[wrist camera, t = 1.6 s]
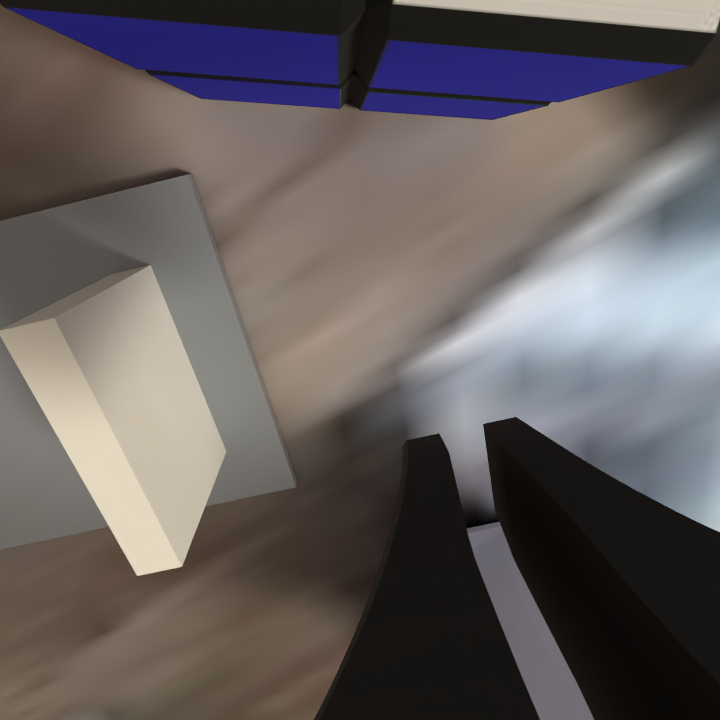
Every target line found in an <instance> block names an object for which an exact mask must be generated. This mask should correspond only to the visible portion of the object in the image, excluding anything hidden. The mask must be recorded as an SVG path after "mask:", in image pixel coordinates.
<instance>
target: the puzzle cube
mask: <svg viewBox="0 0 720 720" xmlns="http://www.w3.org/2000/svg"><path fill="white" fill-rule="evenodd" d="M0 4H1V5H2V6H3V7H5V8H7V9H9V10H11V11H13V12H16V13H18V14H20V15H22V16H24V17H26V18H28V19H31V20H33V21H35V22H37V23H39V24H41V25H44V26H46V27H48V28H50V29H52V30H54V31H56V32H59V33H61V34H63V35H65V36H67V37H69V38H72V39H74V40H76V41H78V42H80V43H82V44H84V45H87V46H89V47H91V48H93V49H95V50H97V51H100V52H102V53H104V54H106V55H108V56H110V57H112V58H115V59H117V60H119V61H121V62H123V63H125V64H128V65H130V66H132V67H134V68H136V69H143V70H146V71H147V72H148V74H149V75H151V76H154V77H156V78H158V79H160V80H162V81H164V82H166V83H169V84H171V85H173V86H175V87H177V88H179V89H182V90H184V91H186V92H188V93H190V94H192V95H194V96H197V97H199V98H201V99H213V100H227V101H240V102H254V103H268V104H281V105H295V106H309V107H322V108H336V109H340V108H341V107H342V106H343V105H344V104H345V103H346V102H347V101H348V100H349V99H350V98H351V100H352V101H353V102H354V104H355V105H356V106H357V107H358V109H359V110H364V111H378V112H391V113H405V114H419V115H433V116H446V117H460V118H474V119H487V120H494V119H498V118H502V117H506V116H509V115H513V114H517V113H521V112H525V111H529V110H533V109H537V108H541V107H544V106H548V105H549V104H550V103H551V102H561V101H565V100H569V99H572V98H576V97H580V96H583V95H587V94H591V93H594V92H598V91H602V90H605V89H609V88H613V87H616V86H620V85H624V84H627V83H631V82H635V81H638V80H642V79H646V78H649V77H653V76H657V75H660V74H664V73H667V72H671V71H675V70H678V69H682V68H686V67H689V66H692V65H694V64H695V63H696V62H697V61H698V60H700V59H701V58H702V57H703V56H704V55H705V54H707V53H708V52H709V51H710V50H711V49H713V48H714V47H715V46H716V45H717V44H719V43H720V0H0Z"/></svg>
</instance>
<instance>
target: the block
mask: <svg viewBox="0 0 720 720" xmlns="http://www.w3.org/2000/svg"><path fill="white" fill-rule="evenodd" d="M0 337H1V338H2V340H3V342H4V344H5V345H6V347H7V349H8V351H9V352H10V354H11V356H12V358H13V359H14V361H15V363H16V365H17V366H18V368H19V370H20V372H21V373H22V375H23V377H24V379H25V380H26V382H27V384H28V386H29V387H30V389H31V391H32V393H33V394H34V396H35V398H36V400H37V401H38V403H39V405H40V407H41V408H42V410H43V412H44V414H45V415H46V417H47V419H48V421H49V422H50V424H51V426H52V428H53V429H54V431H55V433H56V435H57V436H58V438H59V440H60V442H61V443H62V445H63V447H64V449H65V450H66V452H67V454H68V456H69V457H70V459H71V461H72V463H73V464H74V466H75V468H76V470H77V471H78V473H79V475H80V477H81V478H82V480H83V482H84V484H85V485H86V487H87V489H88V491H89V492H90V494H91V496H92V498H93V499H94V501H95V503H96V505H97V506H98V508H99V510H100V512H101V513H102V515H103V517H104V519H105V520H106V522H107V524H108V526H109V527H110V529H111V531H112V533H113V534H114V536H115V538H116V540H117V541H118V543H119V545H120V547H121V548H122V550H123V552H124V554H125V555H126V557H127V559H128V561H129V562H130V564H131V566H132V568H133V569H134V571H135V573H136V575H137V576H140V575H144V574H149V573H154V572H159V571H164V570H169V569H174V568H178V567H182V565H183V563H184V560H185V558H186V555H187V552H188V550H189V547H190V545H191V542H192V539H193V537H194V534H195V532H196V529H197V526H198V524H199V521H200V519H201V516H202V514H203V511H204V508H205V506H206V503H207V501H208V498H209V495H210V493H211V490H212V488H213V485H214V482H215V480H216V477H217V475H218V472H219V469H220V467H221V464H222V462H223V459H224V457H225V454H226V449H225V447H224V444H223V442H222V440H221V437H220V435H219V432H218V430H217V427H216V425H215V422H214V420H213V417H212V415H211V412H210V410H209V408H208V405H207V403H206V400H205V398H204V395H203V393H202V390H201V388H200V385H199V383H198V380H197V378H196V375H195V373H194V371H193V368H192V366H191V363H190V361H189V358H188V356H187V353H186V351H185V348H184V346H183V343H182V341H181V339H180V336H179V334H178V331H177V329H176V326H175V324H174V321H173V319H172V316H171V314H170V311H169V309H168V307H167V304H166V302H165V299H164V297H163V294H162V292H161V289H160V287H159V284H158V282H157V279H156V277H155V275H154V272H153V270H152V267H151V265H148V266H144V267H140V268H136V269H132V270H127V271H123V272H119V273H115V274H112V275H110V276H108V277H106V278H104V279H102V280H100V281H98V282H96V283H94V284H92V285H90V286H88V287H86V288H84V289H82V290H80V291H78V292H76V293H74V294H72V295H70V296H67V297H65V298H63V299H61V300H59V301H57V302H55V303H53V304H51V305H49V306H47V307H45V308H43V309H41V310H39V311H37V312H35V313H33V314H31V315H29V316H27V317H25V318H23V319H21V320H19V321H17V322H15V323H13V324H11V325H9V326H7V327H5V328H3V329H1V330H0Z"/></svg>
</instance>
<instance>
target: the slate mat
mask: <svg viewBox="0 0 720 720" xmlns="http://www.w3.org/2000/svg"><path fill="white" fill-rule="evenodd" d="M148 265H151V267H152V270H153V272H154V275H155V277H156V279H157V282H158V284H159V287H160V289H161V292H162V294H163V297H164V299H165V302H166V304H167V307H168V309H169V311H170V314H171V316H172V319H173V321H174V324H175V326H176V329H177V331H178V334H179V336H180V339H181V341H182V343H183V346H184V348H185V351H186V353H187V356H188V358H189V361H190V363H191V366H192V368H193V371H194V373H195V375H196V378H197V380H198V383H199V385H200V388H201V390H202V393H203V395H204V398H205V400H206V403H207V405H208V408H209V410H210V412H211V415H212V417H213V420H214V422H215V425H216V427H217V430H218V432H219V435H220V437H221V440H222V442H223V444H224V447H225V449H226V454H225V457H224V459H223V462H222V464H221V467H220V469H219V472H218V475H217V477H216V480H215V482H214V485H213V488H212V490H211V493H210V495H209V498H208V501H207V503H206V506H210V505H215V504H220V503H225V502H229V501H234V500H239V499H244V498H248V497H253V496H258V495H262V494H267V493H272V492H277V491H281V490H286V489H291V488H296V484H297V479H296V476H295V473H294V470H293V467H292V464H291V461H290V458H289V455H288V452H287V450H286V447H285V444H284V441H283V438H282V435H281V432H280V429H279V426H278V423H277V420H276V417H275V415H274V412H273V409H272V406H271V403H270V400H269V397H268V394H267V391H266V388H265V385H264V383H263V380H262V377H261V374H260V371H259V368H258V365H257V362H256V359H255V356H254V353H253V350H252V348H251V345H250V342H249V339H248V336H247V333H246V330H245V327H244V324H243V321H242V318H241V316H240V313H239V310H238V307H237V304H236V301H235V298H234V295H233V292H232V289H231V286H230V283H229V281H228V278H227V275H226V272H225V269H224V266H223V263H222V260H221V257H220V254H219V251H218V249H217V246H216V243H215V240H214V237H213V234H212V231H211V228H210V225H209V222H208V219H207V216H206V214H205V211H204V208H203V205H202V202H201V199H200V196H199V193H198V190H197V187H196V184H195V182H194V179H193V176H192V174H187V175H183V176H179V177H175V178H171V179H167V180H163V181H159V182H155V183H151V184H147V185H143V186H139V187H134V188H130V189H126V190H122V191H118V192H114V193H110V194H106V195H102V196H98V197H94V198H90V199H86V200H82V201H78V202H74V203H70V204H66V205H62V206H58V207H54V208H50V209H46V210H42V211H38V212H33V213H29V214H25V215H21V216H17V217H13V218H9V219H5V220H1V221H0V330H1V329H3V328H5V327H7V326H9V325H11V324H13V323H15V322H17V321H19V320H21V319H23V318H25V317H27V316H29V315H31V314H33V313H35V312H37V311H39V310H41V309H43V308H45V307H47V306H49V305H51V304H53V303H55V302H57V301H59V300H61V299H63V298H65V297H67V296H70V295H72V294H74V293H76V292H78V291H80V290H82V289H84V288H86V287H88V286H90V285H92V284H94V283H96V282H98V281H100V280H102V279H104V278H106V277H108V276H110V275H112V274H115V273H119V272H123V271H127V270H132V269H136V268H140V267H144V266H148ZM206 506H205V507H206ZM107 527H109V526H108V524H107V522H106V520H105V519H104V517H103V515H102V513H101V512H100V510H99V508H98V506H97V505H96V503H95V501H94V499H93V498H92V496H91V494H90V492H89V491H88V489H87V487H86V485H85V484H84V482H83V480H82V478H81V477H80V475H79V473H78V471H77V470H76V468H75V466H74V464H73V463H72V461H71V459H70V457H69V456H68V454H67V452H66V450H65V449H64V447H63V445H62V443H61V442H60V440H59V438H58V436H57V435H56V433H55V431H54V429H53V428H52V426H51V424H50V422H49V421H48V419H47V417H46V415H45V414H44V412H43V410H42V408H41V407H40V405H39V403H38V401H37V400H36V398H35V396H34V394H33V393H32V391H31V389H30V387H29V386H28V384H27V382H26V380H25V379H24V377H23V375H22V373H21V372H20V370H19V368H18V366H17V365H16V363H15V361H14V359H13V358H12V356H11V354H10V352H9V351H8V349H7V347H6V345H5V344H4V342H3V340H2V338H1V337H0V550H3V549H7V548H12V547H17V546H22V545H26V544H31V543H36V542H40V541H45V540H50V539H55V538H59V537H64V536H69V535H73V534H78V533H83V532H88V531H92V530H97V529H102V528H107Z"/></svg>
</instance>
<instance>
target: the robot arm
mask: <svg viewBox="0 0 720 720" xmlns="http://www.w3.org/2000/svg"><path fill="white" fill-rule="evenodd" d="M483 426H484V433H485V441H486V448H487V455H488V463H489V470H490V477H491V484H492V492H493V499H494V506H495V511H496V514H497V516H498V519H499V522H496V523H491V524H486V525H481V526H476V527H471V528H466V524H465V519H464V515H463V511H462V507H461V502H460V498H459V494H458V489H457V485H456V481H455V476H454V472H453V468H452V464H451V459H450V455H449V452H448V450H447V448H446V446H445V444H444V442H443V440H442V438H441V436H440V434H435V435H430V436H425V437H421V438H416V439H411V440H407V441H406V443H405V444H404V445H403V447H402V448H403V469H402V477H401V484H400V491H399V495H398V500H397V505H396V510H395V514H394V519H393V523H392V527H391V531H390V534H389V537H388V541H387V544H386V548H385V551H384V555H383V558H382V561H381V565H380V568H379V571H378V574H377V577H376V580H375V582H374V585H373V588H372V591H371V594H370V596H369V599H368V602H367V604H366V607H365V609H364V612H363V614H362V617H361V619H360V622H359V624H358V627H357V629H356V632H355V634H354V636H353V638H352V641H351V643H350V645H349V647H348V650H347V652H346V654H345V656H344V659H343V661H342V663H341V665H340V668H339V670H338V672H337V674H336V676H335V678H334V681H333V683H332V685H331V687H330V689H329V691H328V693H327V695H326V697H325V699H324V701H323V703H322V705H321V707H320V709H319V711H318V713H317V715H316V717H315V718H314V720H720V532H718V531H715V530H713V529H711V528H709V527H707V526H704V525H702V524H700V523H698V522H696V521H694V520H692V519H690V518H688V517H686V516H684V515H682V514H680V513H678V512H676V511H674V510H672V509H670V508H668V507H666V506H664V505H663V504H661V503H659V502H657V501H655V500H653V499H651V498H649V497H647V496H645V495H644V494H642V493H640V492H638V491H636V490H634V489H632V488H630V487H629V486H627V485H625V484H623V483H622V482H620V481H618V480H616V479H614V478H613V477H611V476H609V475H608V474H606V473H604V472H602V471H601V470H599V469H597V468H596V467H594V466H592V465H591V464H589V463H587V462H586V461H584V460H582V459H581V458H579V457H577V456H576V455H574V454H573V453H571V452H569V451H568V450H566V449H565V448H563V447H562V446H560V445H559V444H557V443H555V442H554V441H552V440H551V439H549V438H548V437H546V436H545V435H543V434H541V433H540V432H538V431H537V430H535V429H534V428H532V427H531V426H529V425H528V424H526V423H525V422H523V421H521V420H520V419H518V418H517V417H514V418H509V419H505V420H500V421H495V422H491V423H486V424H483Z"/></svg>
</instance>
